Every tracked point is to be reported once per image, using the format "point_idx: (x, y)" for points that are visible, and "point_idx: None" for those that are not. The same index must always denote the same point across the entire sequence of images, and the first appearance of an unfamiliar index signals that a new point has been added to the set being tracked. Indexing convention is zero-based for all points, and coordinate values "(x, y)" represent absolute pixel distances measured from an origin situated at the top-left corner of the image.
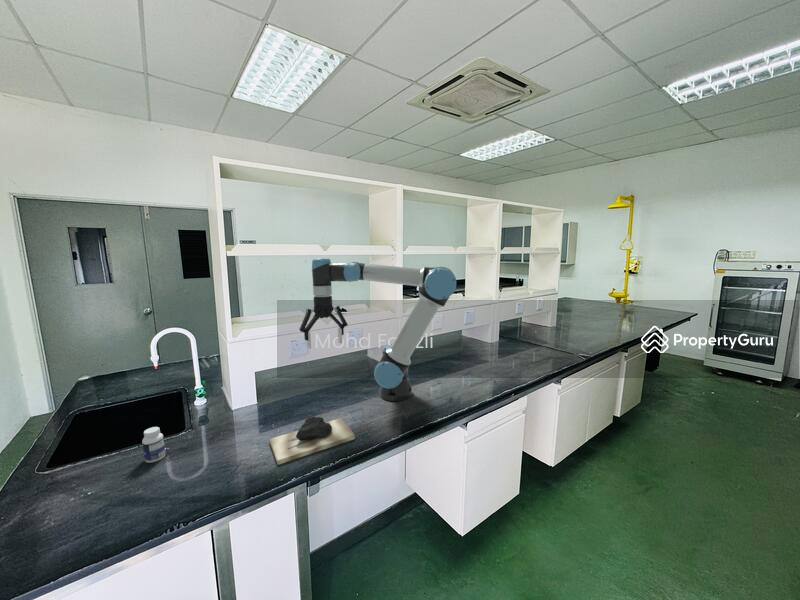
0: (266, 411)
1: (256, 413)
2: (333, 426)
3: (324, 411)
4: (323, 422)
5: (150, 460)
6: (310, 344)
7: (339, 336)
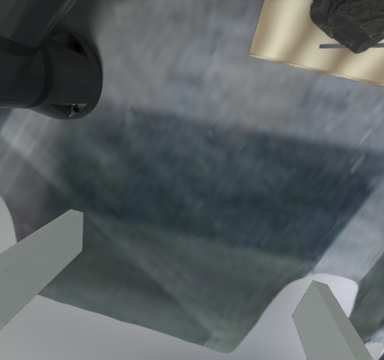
0: (321, 230)
1: (340, 238)
2: (290, 23)
3: (239, 134)
4: (341, 2)
5: None
6: (332, 311)
7: (38, 261)
